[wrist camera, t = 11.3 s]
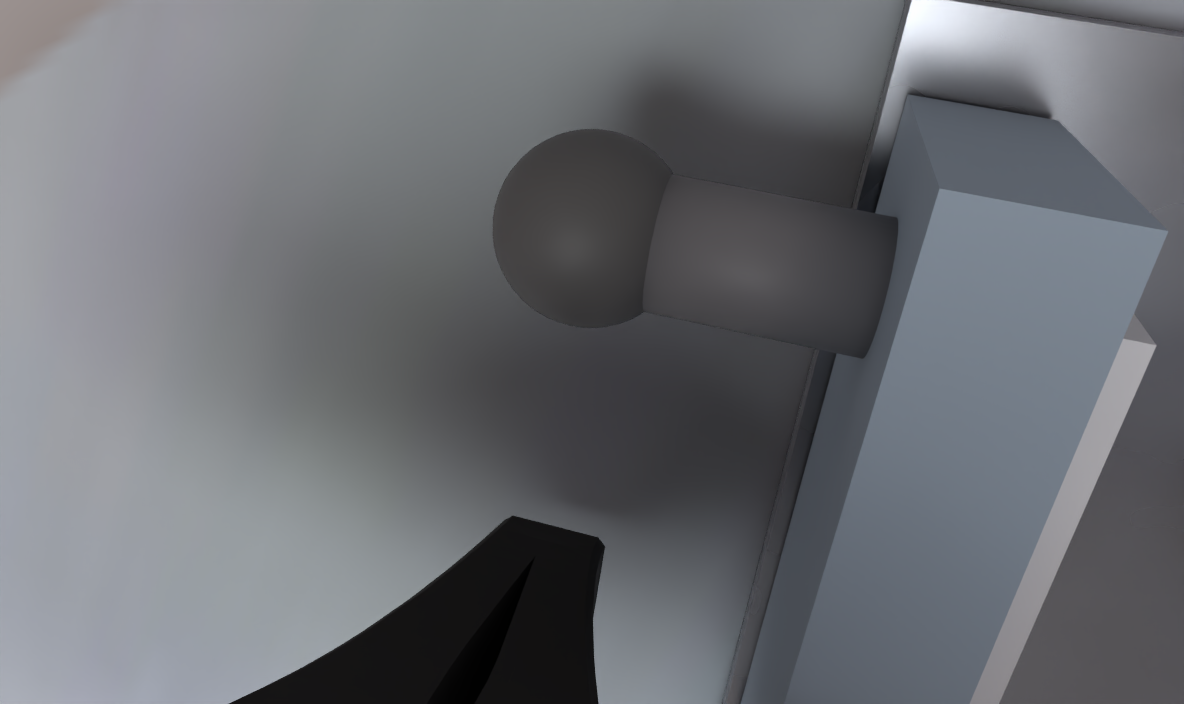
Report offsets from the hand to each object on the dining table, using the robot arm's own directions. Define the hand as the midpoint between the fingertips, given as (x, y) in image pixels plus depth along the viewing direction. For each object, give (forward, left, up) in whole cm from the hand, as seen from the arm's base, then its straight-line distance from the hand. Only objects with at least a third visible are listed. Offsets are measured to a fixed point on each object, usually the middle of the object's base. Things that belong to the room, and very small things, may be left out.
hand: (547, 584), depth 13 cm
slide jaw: (-2, -2, -1) cm, 3 cm away
